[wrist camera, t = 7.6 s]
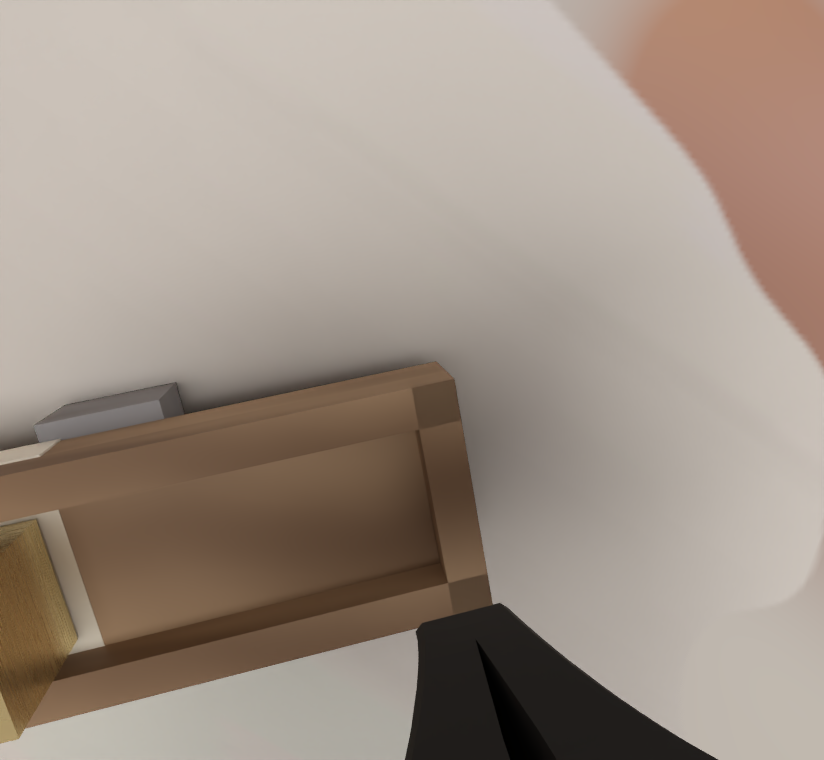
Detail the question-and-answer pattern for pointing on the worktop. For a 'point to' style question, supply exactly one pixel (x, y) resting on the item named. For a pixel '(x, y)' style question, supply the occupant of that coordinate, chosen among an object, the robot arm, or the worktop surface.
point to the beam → (246, 528)
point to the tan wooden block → (28, 626)
